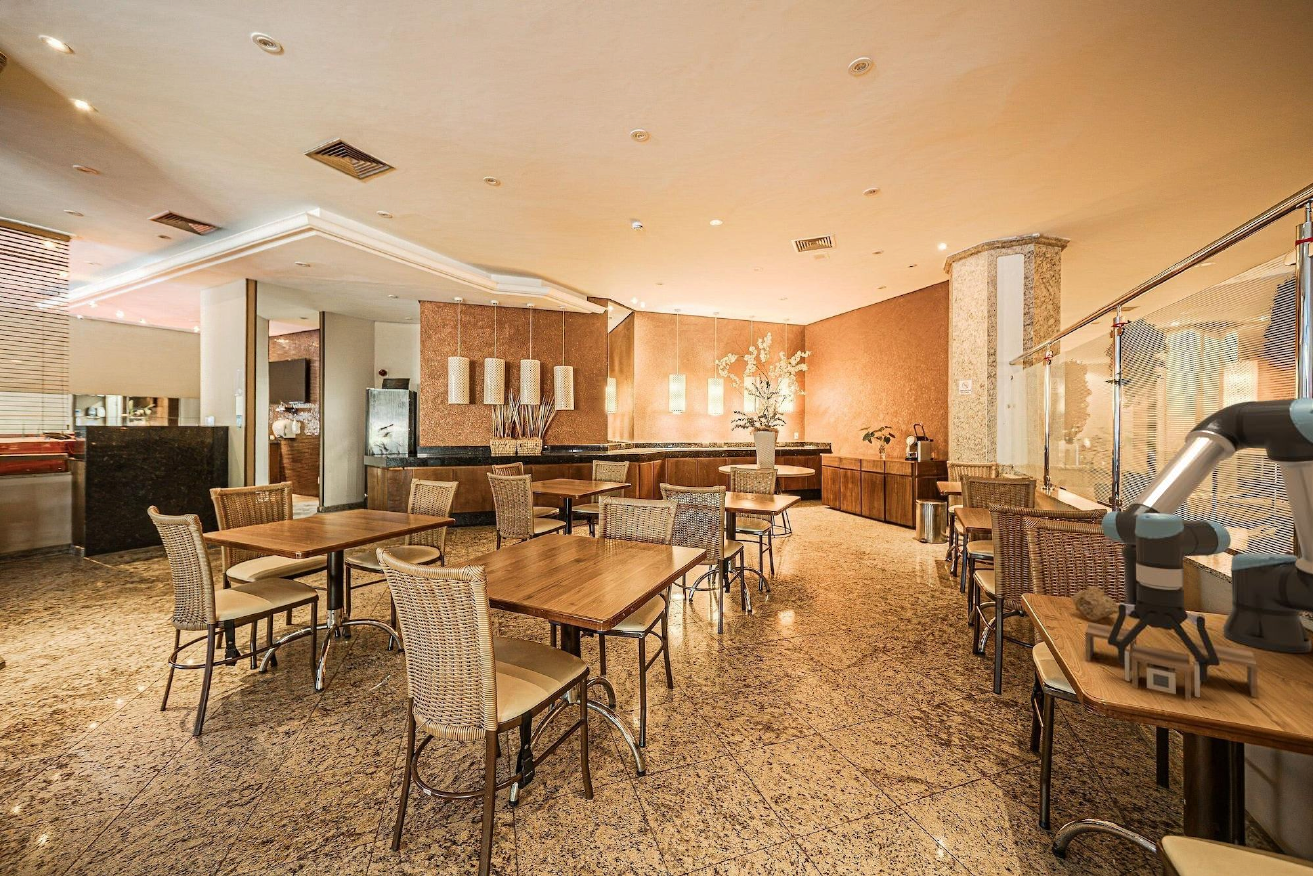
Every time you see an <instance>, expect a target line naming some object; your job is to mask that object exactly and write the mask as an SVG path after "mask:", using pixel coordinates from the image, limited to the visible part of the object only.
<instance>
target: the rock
mask: <svg viewBox="0 0 1313 876" xmlns="http://www.w3.org/2000/svg"><path fill="white" fill-rule="evenodd" d="M1070 600H1071V601H1072V602H1073V604H1074V605H1075V611H1077V612H1079V613H1080V614H1081V615H1084V616H1085V617H1086V618H1087V619H1088V620H1090V621H1093V622H1095V621H1096V622H1097V621H1099V620H1100V619H1107V618H1109V617H1110V616H1113V615H1114V614H1117V613H1119V608H1118V606H1119V605H1118V604H1117V602H1115V601H1114V600H1113V598H1111V597H1109V595H1107V594H1106V593H1104V591H1103V590H1101V588H1099V587H1098V586H1094V585H1093V586H1092V585H1091V586H1090V587H1088V588H1087V589H1085V590H1084V589H1083V590H1079V591H1078V592H1076V593H1074V594H1073V595H1072V596H1071V597H1070Z"/></svg>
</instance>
